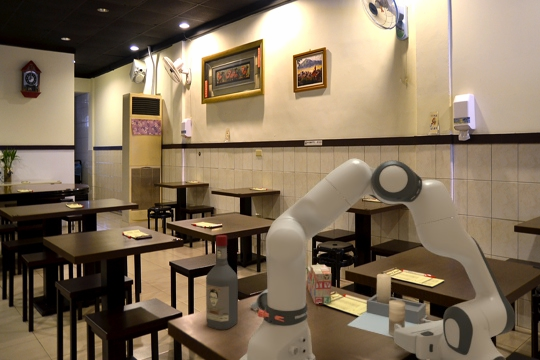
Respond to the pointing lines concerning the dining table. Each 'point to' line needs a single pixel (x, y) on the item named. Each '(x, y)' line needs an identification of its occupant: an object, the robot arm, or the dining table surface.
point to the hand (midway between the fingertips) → (408, 323)
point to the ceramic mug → (260, 301)
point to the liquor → (221, 290)
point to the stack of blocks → (319, 283)
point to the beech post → (396, 314)
